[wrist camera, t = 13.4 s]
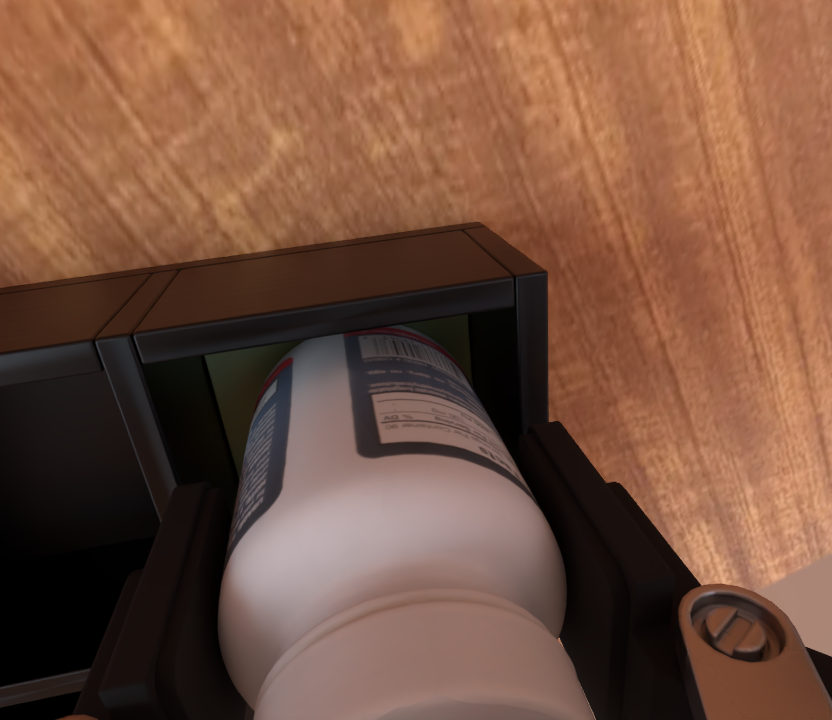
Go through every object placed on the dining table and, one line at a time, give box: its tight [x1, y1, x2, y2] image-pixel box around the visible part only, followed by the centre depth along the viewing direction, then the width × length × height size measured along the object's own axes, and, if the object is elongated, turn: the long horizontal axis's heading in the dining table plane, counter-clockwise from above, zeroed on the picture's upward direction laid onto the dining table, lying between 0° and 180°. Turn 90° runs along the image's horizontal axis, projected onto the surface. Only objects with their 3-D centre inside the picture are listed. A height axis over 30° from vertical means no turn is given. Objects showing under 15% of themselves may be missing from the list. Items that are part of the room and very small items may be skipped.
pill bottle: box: [217, 325, 595, 720], centre depth 10 cm, size 5×5×9 cm
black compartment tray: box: [0, 222, 549, 720], centre depth 15 cm, size 15×15×5 cm
